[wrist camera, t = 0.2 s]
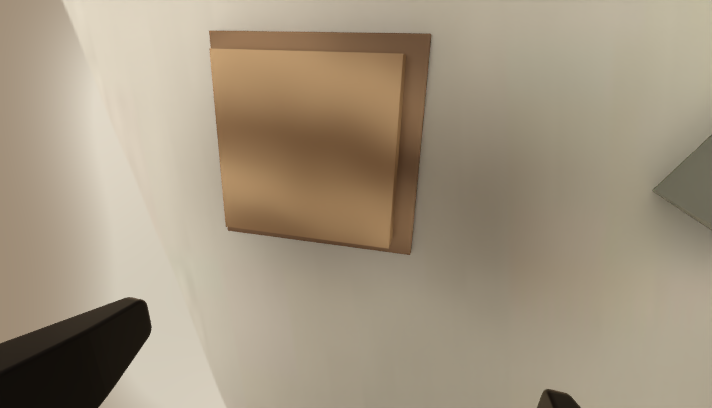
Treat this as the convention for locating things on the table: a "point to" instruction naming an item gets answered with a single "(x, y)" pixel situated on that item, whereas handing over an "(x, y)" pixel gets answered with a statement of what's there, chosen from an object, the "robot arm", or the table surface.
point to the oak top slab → (309, 141)
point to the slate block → (692, 185)
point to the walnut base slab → (412, 107)
